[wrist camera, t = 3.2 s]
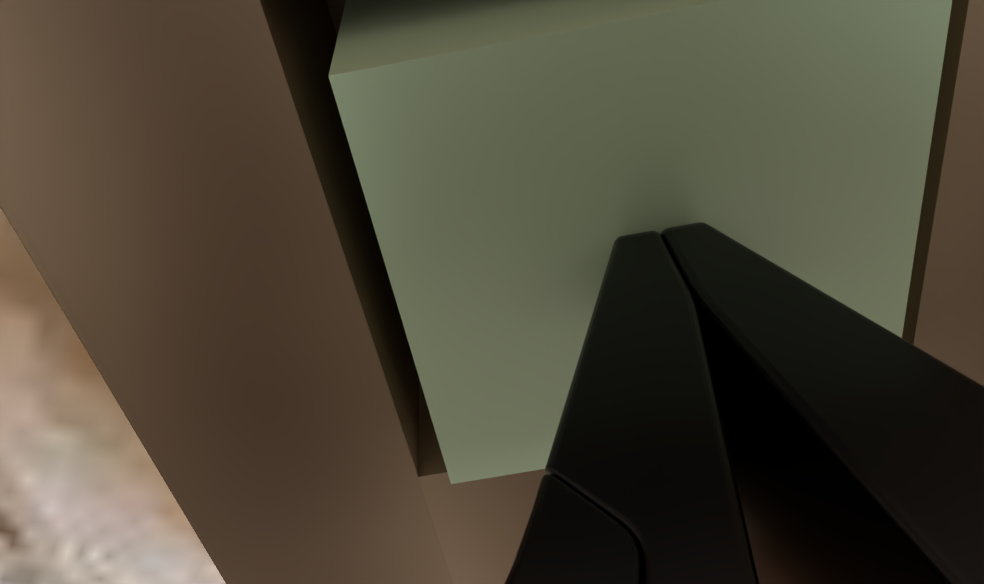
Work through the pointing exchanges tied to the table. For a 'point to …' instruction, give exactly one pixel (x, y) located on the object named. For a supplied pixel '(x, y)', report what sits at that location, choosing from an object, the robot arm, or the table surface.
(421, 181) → the pale green square block
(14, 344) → the table surface
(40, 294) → the table surface
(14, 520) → the table surface
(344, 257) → the key console
